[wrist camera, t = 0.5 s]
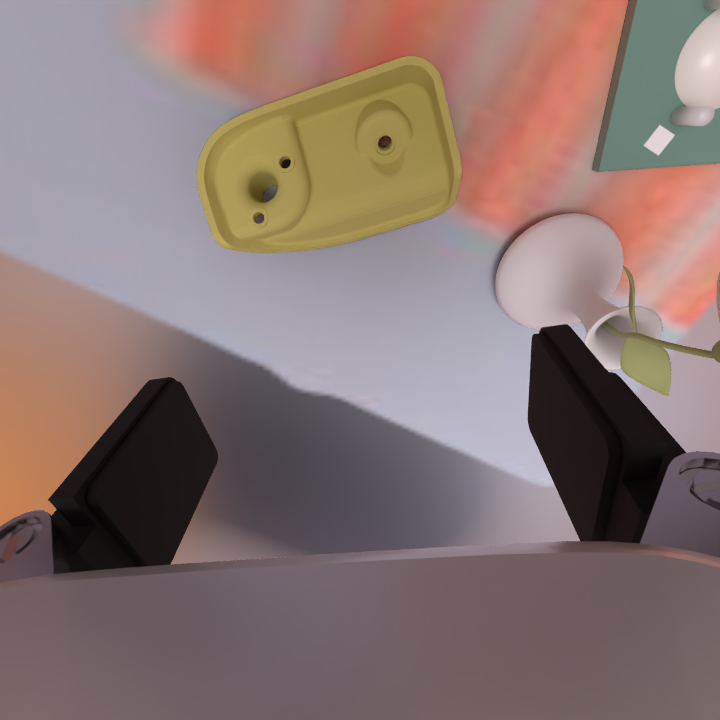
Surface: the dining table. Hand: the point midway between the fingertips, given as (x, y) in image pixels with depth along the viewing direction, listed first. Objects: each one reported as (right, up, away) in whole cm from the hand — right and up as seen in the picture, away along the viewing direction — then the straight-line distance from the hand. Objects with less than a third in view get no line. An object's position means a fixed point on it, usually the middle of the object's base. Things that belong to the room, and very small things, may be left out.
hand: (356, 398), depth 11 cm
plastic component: (-2, +18, +24) cm, 31 cm away
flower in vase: (+19, +11, +28) cm, 35 cm away
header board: (+26, +23, +19) cm, 40 cm away
